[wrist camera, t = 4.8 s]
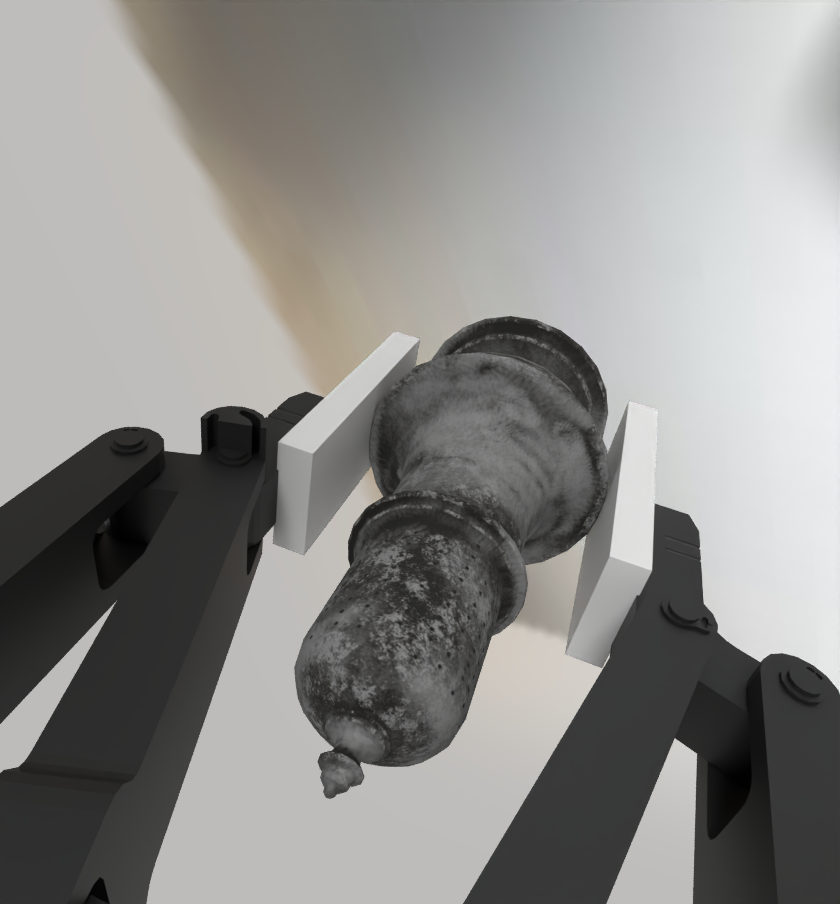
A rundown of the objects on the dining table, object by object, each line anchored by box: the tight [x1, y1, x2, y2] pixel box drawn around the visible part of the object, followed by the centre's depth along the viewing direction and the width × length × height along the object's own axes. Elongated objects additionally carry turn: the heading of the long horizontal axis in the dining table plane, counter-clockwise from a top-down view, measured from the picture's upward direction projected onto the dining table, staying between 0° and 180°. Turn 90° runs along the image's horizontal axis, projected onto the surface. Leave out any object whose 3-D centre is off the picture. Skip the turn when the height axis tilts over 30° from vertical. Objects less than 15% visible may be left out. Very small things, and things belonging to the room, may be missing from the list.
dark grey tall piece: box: [295, 316, 610, 799], centre depth 13 cm, size 6×6×12 cm
